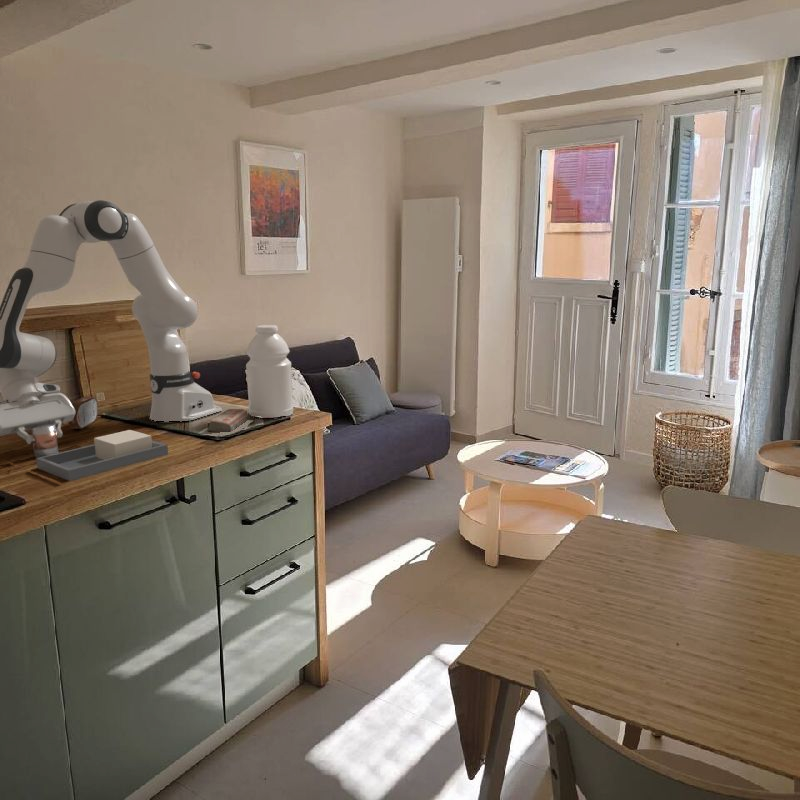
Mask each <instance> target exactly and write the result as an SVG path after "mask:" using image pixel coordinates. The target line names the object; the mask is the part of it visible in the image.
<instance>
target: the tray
mask: <svg viewBox="0 0 800 800" xmlns="http://www.w3.org/2000/svg"><path fill="white" fill-rule="evenodd" d="M167 455H169V448H168V444H165V443H163V442H160V441H159V442H158V441H155V440H152V448H149V449H145V450H141V451H137V452H133V453H129V454H125V455H122V456H118V457H114V458H110V459H106V460H104V459H101V458H98V457H96V451H95V443H94V444H90V445H85V446H82V447H77V448H73V449H70V450H65V451H60V452H59V453H56V454H52V455H48V456H43V457H35V460H36V468H37V469H38V470H41V471H43V472H46V473H48V474H51V475H53V476H56V477H59V478H61V479H64V480H65V481H68V482H72V481H76V480H79V479H82V478H87V477H90V476H95V475H97V474H100V473H101V474H102V473H105V472H109V471H112V470H116V469H120V468H122V467H123V468H124V467H127V466H131V465H135V464H139V463H141V462H145V461H149V460H153V459H156V458H159V457H164V456H167Z"/></svg>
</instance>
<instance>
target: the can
mask: <svg viewBox="0 0 800 800" xmlns="http://www.w3.org/2000/svg"><path fill="white" fill-rule="evenodd" d="M56 429H57V427H55V424H39V425H35V426H32V427H31V430H30V431H31V435H32V434H33V436H34V438H35V442H34V443H32V449H33V453H34V457H35V458H39V457H43V456H48V455H52V454H56V453H60V452H59V447H58V446H59V444H58V438H57V434H56Z"/></svg>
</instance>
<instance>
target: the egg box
mask: <svg viewBox="0 0 800 800" xmlns="http://www.w3.org/2000/svg"><path fill="white" fill-rule="evenodd" d="M93 441H94V444H95V451H96V457H98V458H101V459H104V460H106V459H110V458H114V457H118V456H122V455H125V454H129V453H133V452H137V451H141V450H145V449H149V448H152V441H153V439H152V435H149V434H146V433H143V432H139V431H136V430H132V429H127V430H122V431H120V432H114V433H110V434H106V435H102V436H97V437H93Z"/></svg>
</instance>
